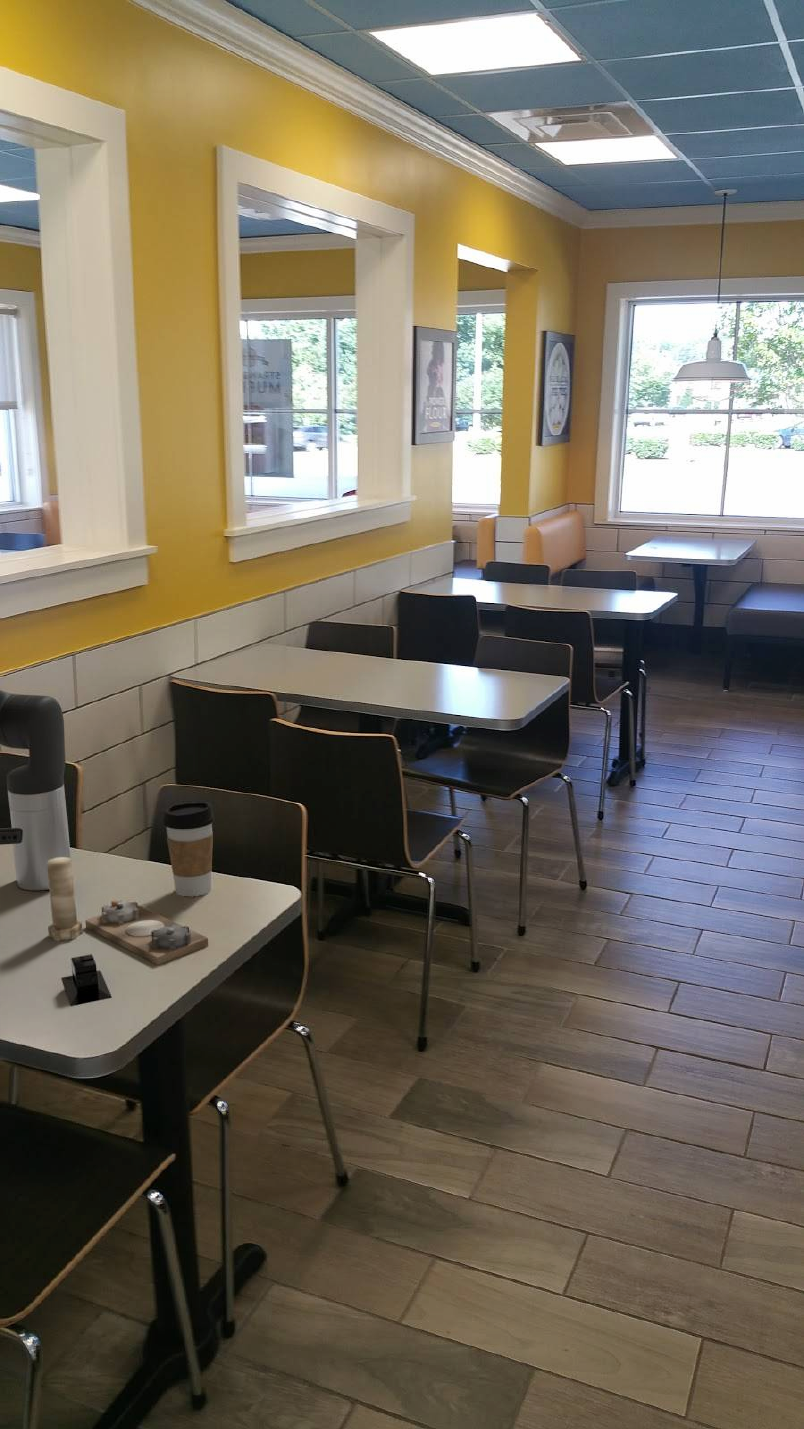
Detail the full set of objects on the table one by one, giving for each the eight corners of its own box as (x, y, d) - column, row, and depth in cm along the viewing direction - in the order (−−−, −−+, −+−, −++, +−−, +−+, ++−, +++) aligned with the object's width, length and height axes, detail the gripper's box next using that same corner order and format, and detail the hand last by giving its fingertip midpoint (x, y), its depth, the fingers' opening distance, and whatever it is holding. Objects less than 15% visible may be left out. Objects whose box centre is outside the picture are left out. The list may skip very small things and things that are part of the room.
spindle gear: (44, 934, 178) (36, 861, 175) (71, 925, 181) (64, 853, 178) (60, 943, 175) (53, 869, 172) (87, 933, 178) (81, 861, 175)
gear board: (85, 927, 180) (84, 907, 180) (135, 910, 187) (133, 891, 186) (157, 964, 167) (156, 943, 166) (208, 945, 173) (207, 925, 172)
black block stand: (119, 1004, 156) (117, 973, 155) (64, 1015, 153) (61, 984, 152) (104, 968, 167) (101, 939, 166) (52, 978, 164) (49, 948, 163)
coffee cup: (208, 901, 190) (202, 815, 186) (160, 898, 191) (154, 812, 188) (225, 882, 198) (220, 799, 194) (179, 880, 199) (174, 797, 196)
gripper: (-85, 817, 153) (31, 813, 164) (-119, 800, 164) (-8, 797, 174) (-89, 872, 153) (28, 864, 164) (-123, 852, 164) (-11, 846, 175)
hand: (9, 830), depth 169 cm, fingers open, 8 cm apart
